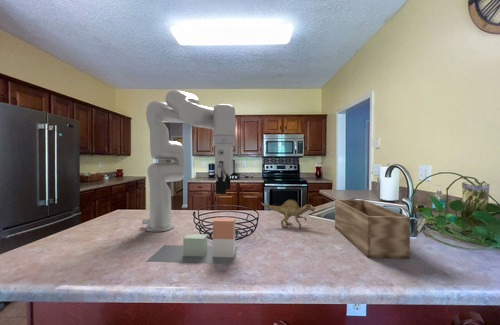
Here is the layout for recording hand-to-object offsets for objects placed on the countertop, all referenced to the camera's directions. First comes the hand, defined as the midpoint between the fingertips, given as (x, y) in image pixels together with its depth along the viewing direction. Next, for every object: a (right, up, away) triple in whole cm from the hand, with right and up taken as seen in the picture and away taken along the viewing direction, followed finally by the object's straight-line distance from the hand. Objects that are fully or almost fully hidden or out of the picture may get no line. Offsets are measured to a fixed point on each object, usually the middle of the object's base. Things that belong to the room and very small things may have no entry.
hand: (223, 191), depth 74 cm
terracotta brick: (0, -16, 0) cm, 16 cm away
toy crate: (+57, -23, +15) cm, 63 cm away
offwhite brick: (0, -22, 0) cm, 22 cm away
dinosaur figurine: (+28, -22, +35) cm, 50 cm away
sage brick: (-10, -22, 0) cm, 24 cm away
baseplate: (-10, -22, 0) cm, 24 cm away
